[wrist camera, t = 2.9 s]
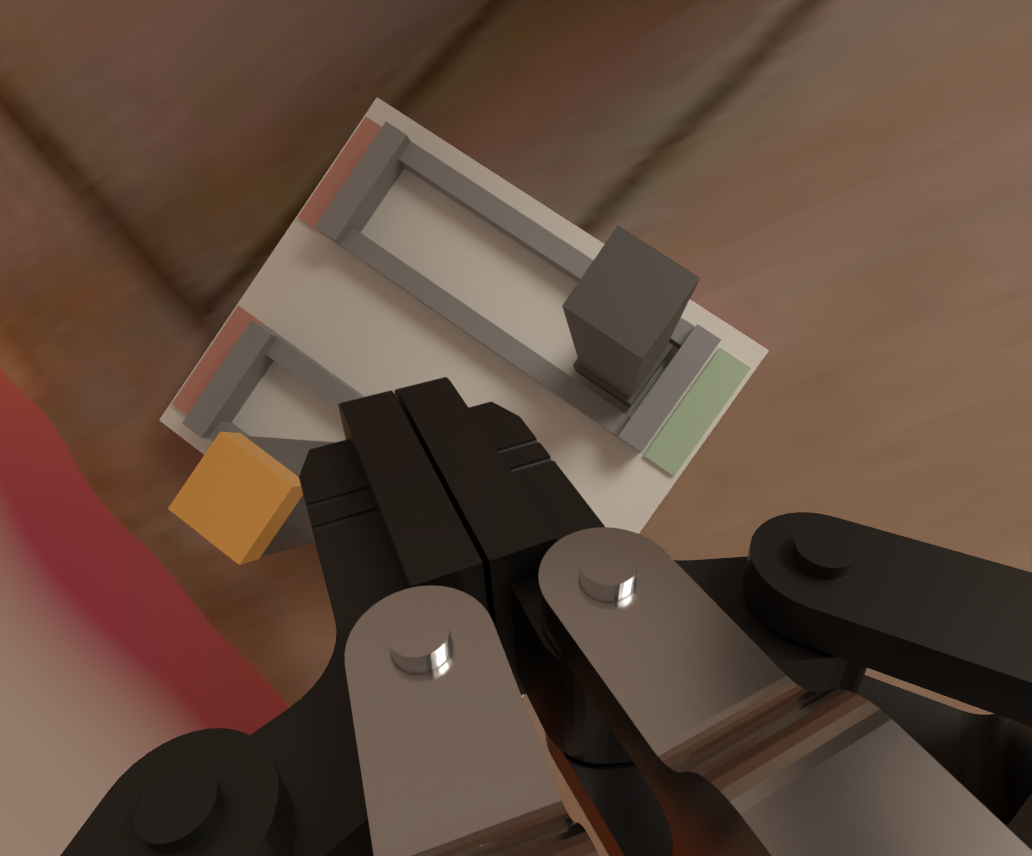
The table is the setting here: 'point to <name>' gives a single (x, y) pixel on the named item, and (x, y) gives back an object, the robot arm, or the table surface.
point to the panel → (471, 322)
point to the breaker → (248, 496)
